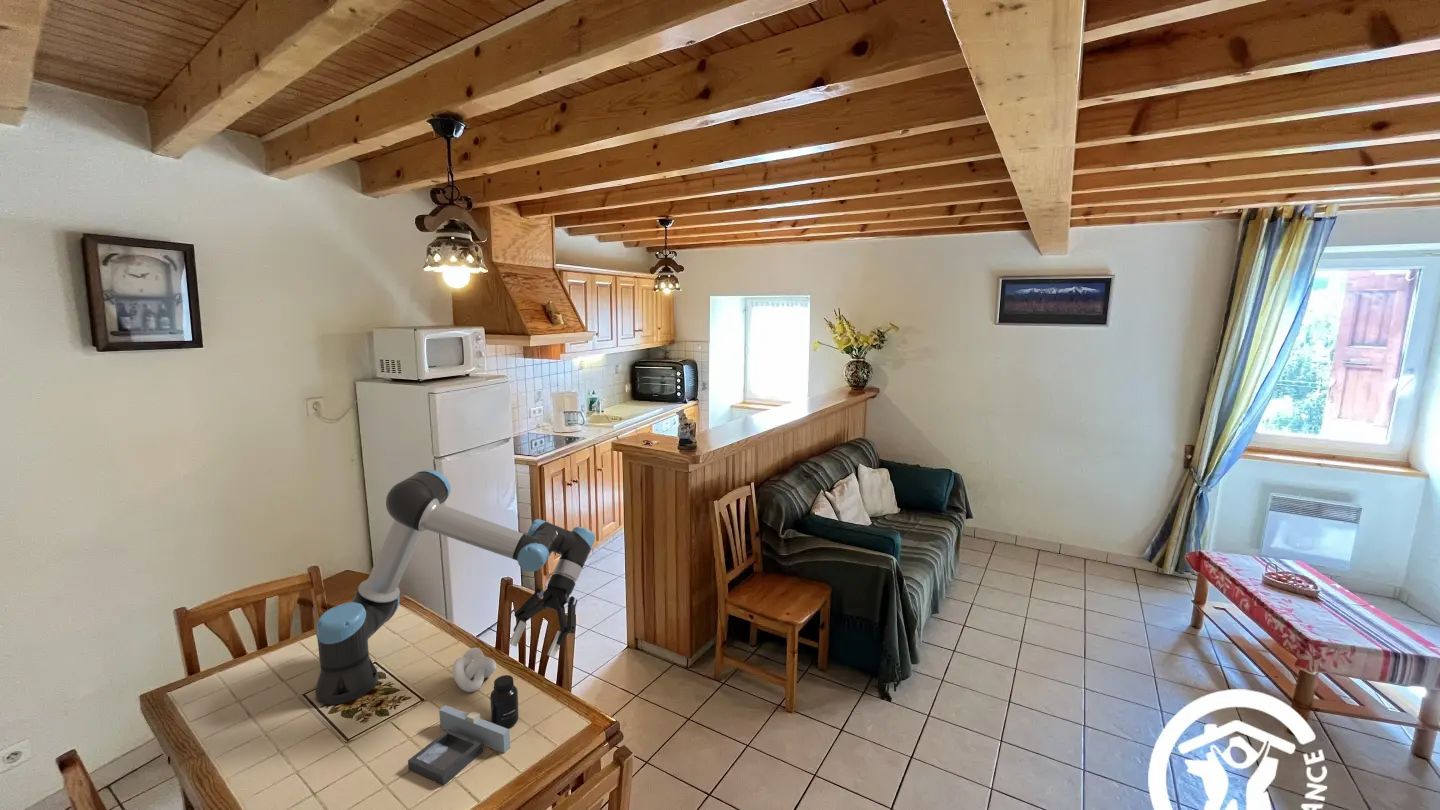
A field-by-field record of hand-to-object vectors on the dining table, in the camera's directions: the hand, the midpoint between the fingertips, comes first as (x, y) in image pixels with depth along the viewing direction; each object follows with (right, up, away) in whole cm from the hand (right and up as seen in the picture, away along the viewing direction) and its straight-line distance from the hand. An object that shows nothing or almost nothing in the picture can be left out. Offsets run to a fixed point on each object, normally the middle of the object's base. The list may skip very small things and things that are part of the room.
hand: (531, 650), depth 157 cm
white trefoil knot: (-19, -13, +9) cm, 25 cm away
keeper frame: (-14, -17, -21) cm, 30 cm away
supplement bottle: (-4, -16, -7) cm, 18 cm away
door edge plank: (-10, -16, -13) cm, 23 cm away
